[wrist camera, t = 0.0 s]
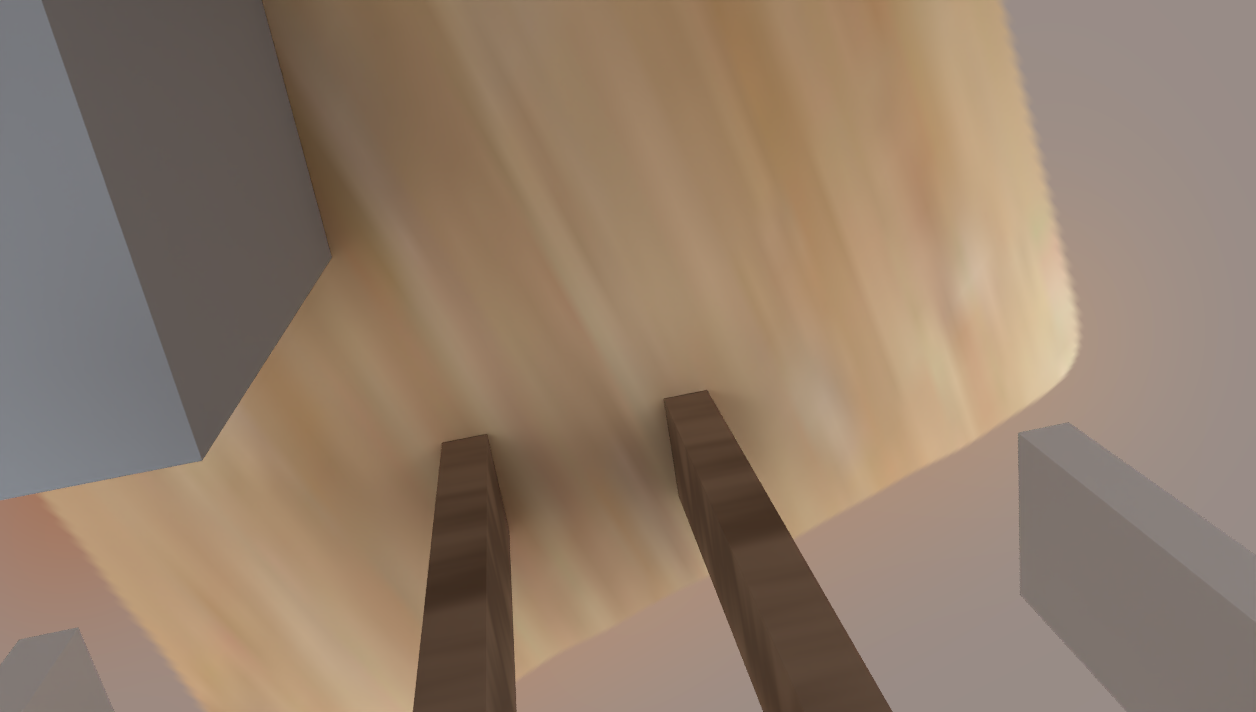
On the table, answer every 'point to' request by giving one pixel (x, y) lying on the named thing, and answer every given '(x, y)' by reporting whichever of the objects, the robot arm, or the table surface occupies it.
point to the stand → (729, 543)
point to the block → (141, 231)
